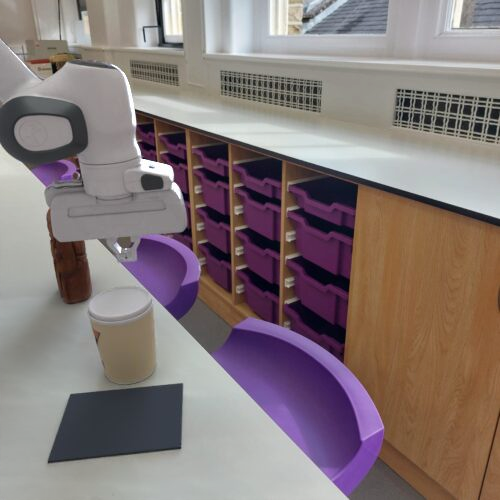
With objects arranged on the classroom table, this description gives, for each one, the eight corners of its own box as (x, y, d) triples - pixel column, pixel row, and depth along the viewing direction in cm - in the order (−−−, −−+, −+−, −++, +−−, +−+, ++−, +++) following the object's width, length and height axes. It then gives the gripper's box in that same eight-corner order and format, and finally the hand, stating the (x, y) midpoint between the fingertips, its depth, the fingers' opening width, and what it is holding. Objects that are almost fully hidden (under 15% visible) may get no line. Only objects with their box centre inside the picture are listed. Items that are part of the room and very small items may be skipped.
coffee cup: (110, 350, 79) (98, 285, 74) (167, 349, 79) (158, 284, 74) (91, 388, 71) (76, 318, 66) (155, 388, 70) (144, 317, 65)
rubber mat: (47, 463, 59) (47, 461, 59) (70, 395, 70) (70, 393, 70) (181, 448, 60) (180, 446, 60) (182, 384, 71) (182, 382, 71)
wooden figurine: (57, 282, 102) (38, 200, 94) (88, 275, 104) (73, 194, 97) (62, 308, 92) (42, 219, 85) (97, 299, 94) (80, 212, 87)
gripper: (35, 188, 68) (56, 275, 74) (181, 177, 70) (190, 263, 76) (47, 175, 74) (65, 257, 80) (182, 166, 76) (190, 247, 81)
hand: (127, 260), depth 78 cm, fingers closed
